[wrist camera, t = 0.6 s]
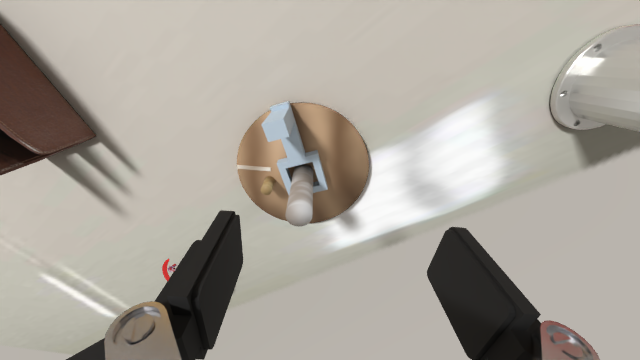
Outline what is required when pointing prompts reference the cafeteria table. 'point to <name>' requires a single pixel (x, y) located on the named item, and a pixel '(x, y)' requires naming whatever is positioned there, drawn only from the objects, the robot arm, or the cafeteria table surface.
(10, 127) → the letter holder
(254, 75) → the cafeteria table surface
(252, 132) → the post base
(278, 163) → the blue square ring handle
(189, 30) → the cafeteria table surface
